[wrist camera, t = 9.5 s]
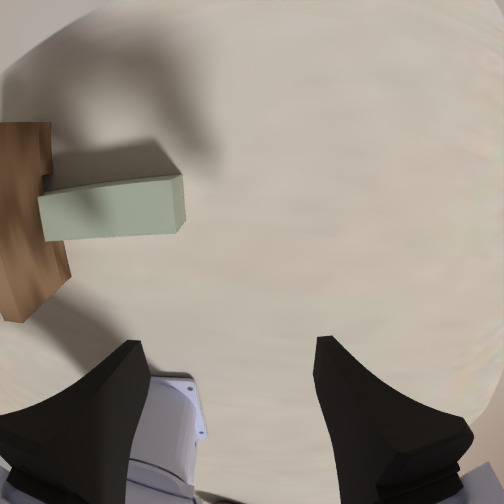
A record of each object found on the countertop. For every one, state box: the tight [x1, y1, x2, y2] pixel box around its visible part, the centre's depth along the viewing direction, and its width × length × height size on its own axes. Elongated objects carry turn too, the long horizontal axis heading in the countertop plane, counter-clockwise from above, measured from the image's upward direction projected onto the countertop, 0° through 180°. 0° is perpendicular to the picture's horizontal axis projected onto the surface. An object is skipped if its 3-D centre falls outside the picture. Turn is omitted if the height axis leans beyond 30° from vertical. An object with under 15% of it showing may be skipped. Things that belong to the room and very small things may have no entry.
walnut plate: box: [0, 122, 71, 323], centre depth 15 cm, size 12×2×7 cm, turn 2°
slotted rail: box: [38, 174, 186, 242], centre depth 17 cm, size 3×22×3 cm, turn 92°
